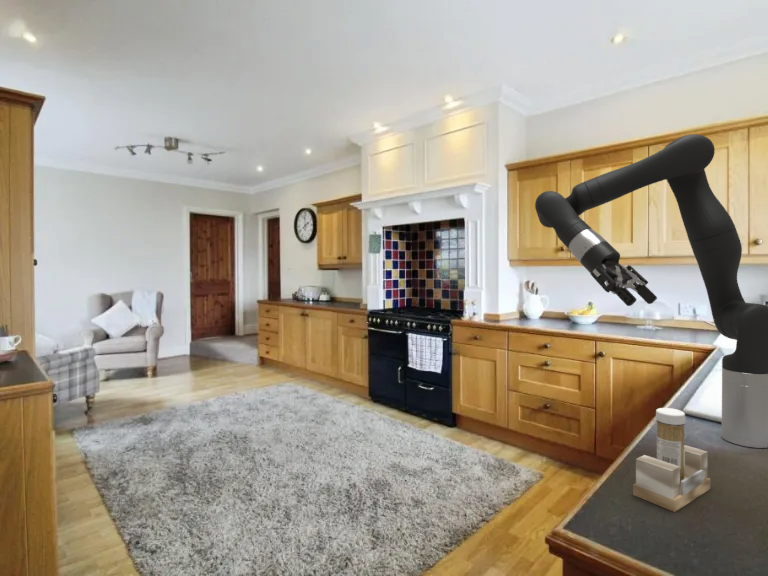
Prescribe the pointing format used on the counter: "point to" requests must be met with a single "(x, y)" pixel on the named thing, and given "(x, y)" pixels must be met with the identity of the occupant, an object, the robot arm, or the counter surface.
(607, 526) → the counter surface
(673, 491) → the napkin holder
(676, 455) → the sprinkles bottle
